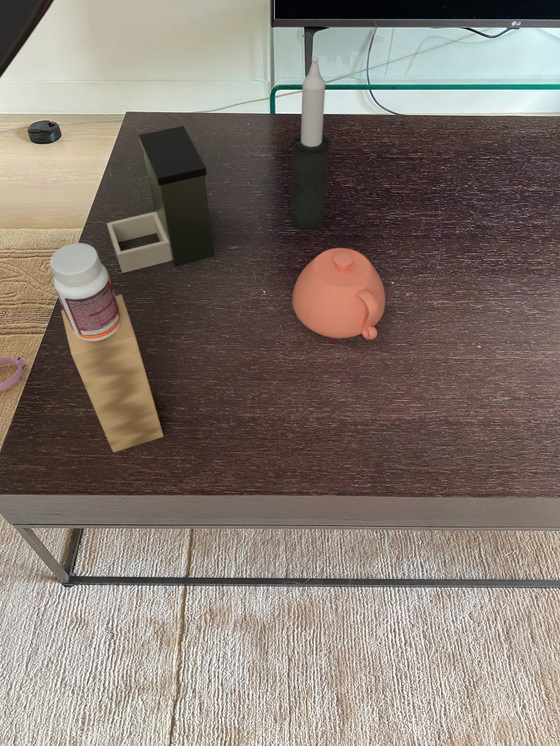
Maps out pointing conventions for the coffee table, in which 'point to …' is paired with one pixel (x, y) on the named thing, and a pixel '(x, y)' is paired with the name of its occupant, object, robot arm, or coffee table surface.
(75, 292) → the pill bottle
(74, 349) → the stand
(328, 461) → the coffee table surface
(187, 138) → the dispenser
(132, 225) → the dock
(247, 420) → the coffee table surface
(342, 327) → the sugar bowl
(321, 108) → the candle
